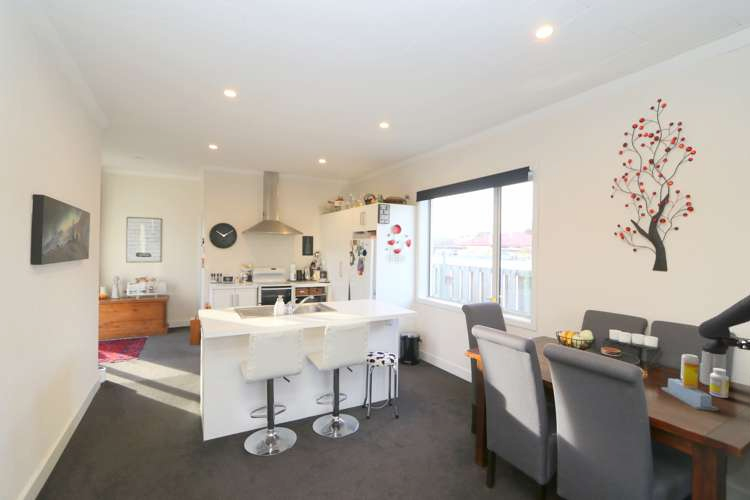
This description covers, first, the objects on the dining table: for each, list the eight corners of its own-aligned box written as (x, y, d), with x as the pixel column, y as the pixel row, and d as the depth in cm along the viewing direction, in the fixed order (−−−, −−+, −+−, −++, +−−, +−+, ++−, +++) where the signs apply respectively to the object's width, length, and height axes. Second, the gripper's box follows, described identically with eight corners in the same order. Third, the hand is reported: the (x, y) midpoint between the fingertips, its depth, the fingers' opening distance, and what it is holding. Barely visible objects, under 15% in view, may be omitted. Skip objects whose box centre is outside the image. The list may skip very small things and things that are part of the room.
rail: (661, 389, 181) (661, 377, 180) (680, 390, 180) (681, 378, 180) (696, 409, 159) (697, 395, 159) (718, 410, 158) (719, 397, 158)
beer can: (700, 390, 165) (702, 357, 165) (685, 388, 166) (686, 356, 166) (692, 385, 171) (693, 354, 171) (677, 383, 172) (678, 352, 172)
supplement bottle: (723, 393, 176) (724, 368, 176) (731, 399, 170) (732, 372, 170) (706, 391, 179) (707, 366, 178) (713, 397, 172) (715, 370, 172)
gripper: (773, 336, 156) (722, 329, 167) (781, 342, 145) (725, 335, 156) (772, 353, 156) (721, 345, 167) (780, 361, 146) (724, 352, 156)
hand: (723, 340), depth 161 cm, fingers open, 8 cm apart
